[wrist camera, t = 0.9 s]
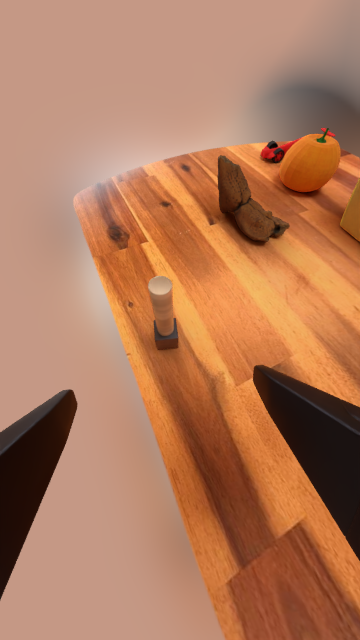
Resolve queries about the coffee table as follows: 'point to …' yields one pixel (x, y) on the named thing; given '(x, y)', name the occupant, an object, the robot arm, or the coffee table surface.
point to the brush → (163, 312)
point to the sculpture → (245, 204)
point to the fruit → (310, 162)
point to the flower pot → (352, 214)
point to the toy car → (281, 149)
